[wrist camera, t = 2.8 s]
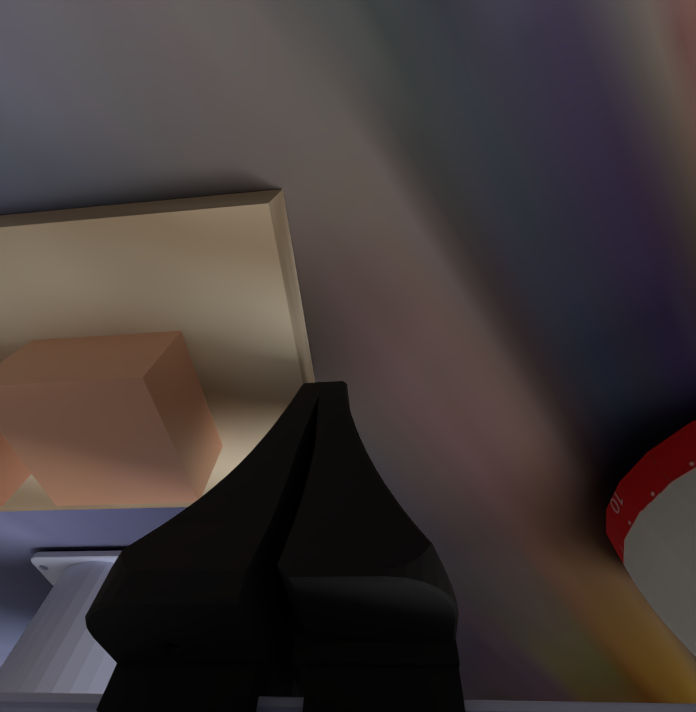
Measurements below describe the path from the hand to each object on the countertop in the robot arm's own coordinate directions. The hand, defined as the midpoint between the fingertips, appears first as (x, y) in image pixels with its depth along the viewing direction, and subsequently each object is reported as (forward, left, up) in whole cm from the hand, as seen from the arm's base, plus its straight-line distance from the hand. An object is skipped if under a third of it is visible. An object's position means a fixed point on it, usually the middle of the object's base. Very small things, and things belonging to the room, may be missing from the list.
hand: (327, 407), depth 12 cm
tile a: (0, +7, -1) cm, 7 cm away
